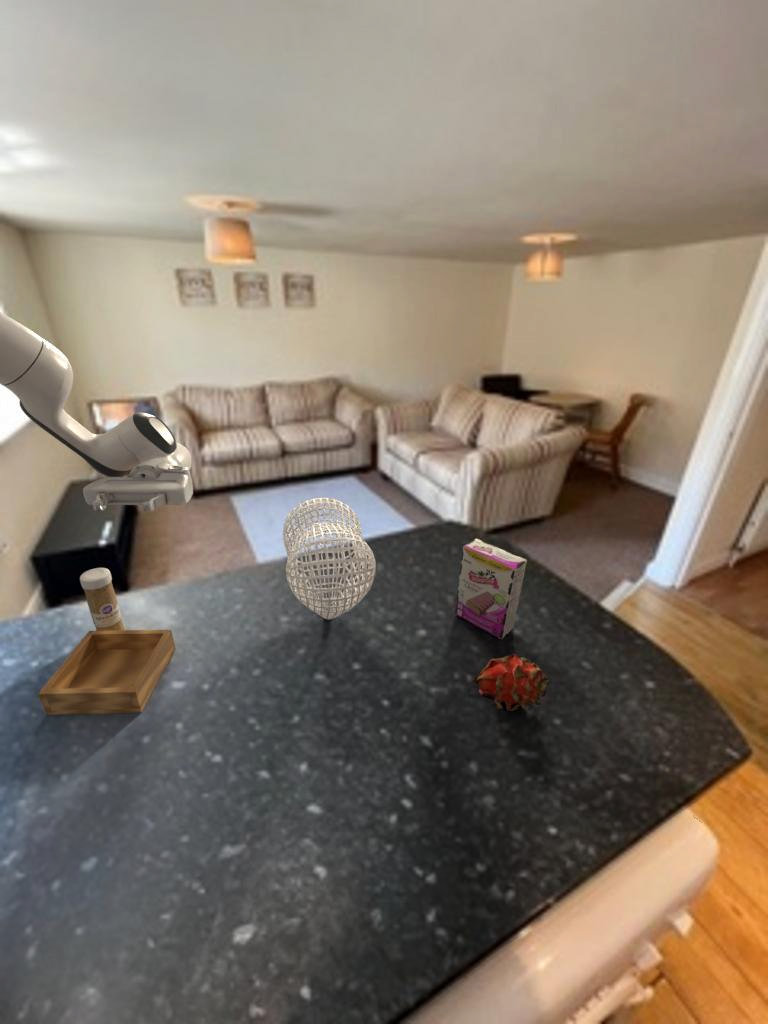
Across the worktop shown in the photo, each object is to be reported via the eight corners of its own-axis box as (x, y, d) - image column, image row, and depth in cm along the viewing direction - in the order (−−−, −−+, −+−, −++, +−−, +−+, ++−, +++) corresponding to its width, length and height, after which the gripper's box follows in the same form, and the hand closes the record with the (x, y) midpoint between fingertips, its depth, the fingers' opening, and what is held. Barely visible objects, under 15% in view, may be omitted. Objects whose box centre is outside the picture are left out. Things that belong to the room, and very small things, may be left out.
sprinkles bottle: (107, 646, 81) (88, 583, 75) (92, 637, 83) (73, 575, 77) (131, 631, 84) (115, 571, 79) (116, 623, 86) (99, 563, 81)
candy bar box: (453, 615, 91) (461, 545, 84) (467, 605, 95) (475, 537, 88) (501, 642, 84) (514, 568, 77) (514, 630, 88) (528, 558, 81)
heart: (381, 658, 80) (385, 550, 70) (293, 671, 76) (285, 560, 67) (354, 573, 104) (354, 485, 95) (286, 580, 101) (279, 490, 91)
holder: (45, 715, 67) (37, 694, 65) (95, 649, 80) (89, 630, 78) (141, 712, 68) (135, 692, 66) (175, 648, 81) (171, 629, 79)
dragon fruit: (549, 713, 72) (473, 714, 73) (540, 658, 76) (469, 660, 77) (559, 708, 64) (475, 709, 66) (549, 648, 69) (470, 650, 70)
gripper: (100, 467, 97) (61, 492, 85) (196, 467, 98) (172, 492, 86) (107, 493, 100) (71, 521, 87) (200, 494, 101) (177, 522, 88)
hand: (121, 507), depth 87 cm, fingers open, 8 cm apart
